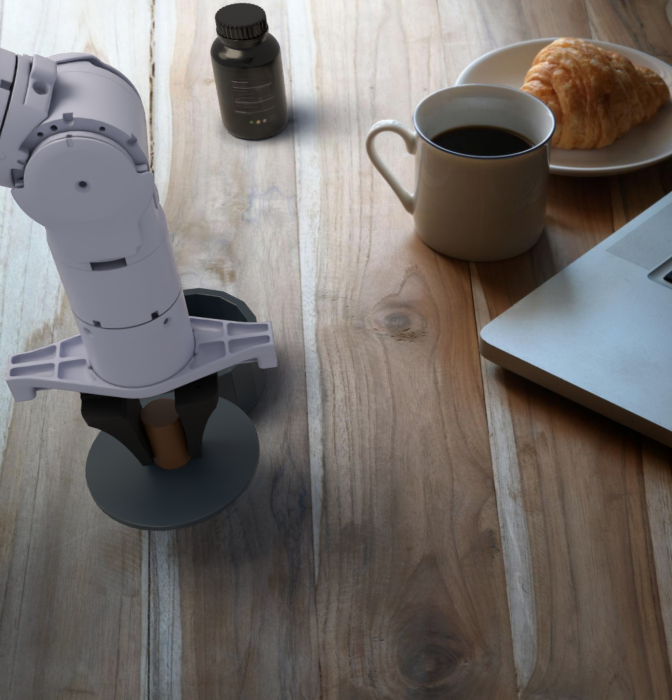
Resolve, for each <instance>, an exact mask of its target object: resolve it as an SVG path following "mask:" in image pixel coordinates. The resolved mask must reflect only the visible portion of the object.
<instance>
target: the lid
mask: <svg viewBox="0 0 672 700" xmlns="http://www.w3.org/2000/svg"><path fill="white" fill-rule="evenodd" d="M140 403H141V405H142V408H143V409H142V412H141V421H142V424H143V427H144V430H145V433H146V436H147V439H148V442H149V445H150V448H151V451H152V454H153V465H149V466H142V465H141V463H140V462H139V461H138V460H137V458H136V457H135V456H134V455H133V454H132V453H131V452H130V451H129V450H128V449H127V448H126V447H125V446H124V445H123V444H122V443H121V442H119V441H118V440H117V439H115V438H114V437H113V436H111V435H109V434H107V433H106V432H103V431H101V430H100V431H99V432H98V434H97V435H96V437H95V439H94V440H93V441H92V443H91V446H90V447H89V451H88V454H87V456H86V461H85V470H84V471H85V472H84V473H85V480H86V487H87V488H88V489H87V490H88V492H89V493H90V496H91V498H92V500H93V501H94V503H95V504H96V506H97V507H98V508H99V509H100V510H101V511H102V513H103V514H105V515H106V516H107V517H108V518H110V519H112V520H114V521H115V522H117V523H119V524H120V525H123V526H126V527H129V528H132V529H136V530H141V531H149V532H168V531H176V530H181V529H186V528H190V527H194V526H196V525H199V524H202V523H204V522H206V521H209V520H210V519H213V518H215V517H216V516H218V515H220V514H222V513H223V512H224V511H226V510H227V509H229V508H230V507H231V506H232V505H233V504H234V503H236V501H238V499H240V497H241V496H242V495H243V494H244V493H245V492H246V491H247V489H248V488H249V486H250V485H251V483H252V482H253V479H254V477H255V474H256V473H257V470H258V467H259V464H260V458H261V457H260V456H261V445H260V440H259V436H258V432H257V429H256V427H255V425H254V423H253V421H252V419H251V417H250V416H248V414H246V413H245V412H243V411H242V410H241V409H240V408H239V407H238V406H236V405H235V404H233V403H232V402H230V401H228V400H226V399H224V398H221V397H219V399H218V404H217V407H216V409H215V410H214V411H213V412H212V414H211V416H210V417H209V419H208V422H207V424H206V427H205V430H204V434H203V438H202V454H203V456H202V457H201V458H195V459H191V457H190V455H189V451H188V444H187V437H186V432H185V430H184V427H183V424H182V422H181V419H180V417H179V415H178V414H177V412H176V409H175V394H174V392H172V393H167V394H161V395H158V396H154V397H151V398H148V399H145V400H143V401H140Z"/></svg>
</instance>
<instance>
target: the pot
mask: <svg viewBox="0 0 672 700" xmlns="http://www.w3.org/2000/svg"><path fill="white" fill-rule="evenodd" d="M183 293H184V297H185V302H186V306H187V310H188V314H189V316H193V317H202V318H210V319H219V320H227V321H235V322H258V319H257V316H256V315H255V314H254V312H253V311H252V309H251V308H250V307H249V306H248V304H247V303H246V302H245V301H243V300H242V299H239V298H238V297H236V296H234V295H232V294H230V293H228V292H226V291H224V290H217V289H212V288H204V287H193V288H185V289H183ZM265 369H266V368H264V369H262V368H259V366H258V361H257V362H249V363H242V364H235V365H232V366H230V367H227V368H225V369H222V370H220V371H218V381H219V397H221V398H224V399H226V400H228V401H230V402H232V403H233V404H235V405H236V406H238V407H239V408H240V409H241V410H242V411H243V412H245V413H246V415H248V414H249V413H250V412H251V411H252V410H253V408H254V407H256V405H257V404H258V402H259V401H260V399H261V397H262V395H263V393H264V390H265V386H266V370H265ZM172 392H174V389H173V390H170V391H168V392H165V393H162V394H167V393H172ZM159 395H161V394H159ZM156 396H158V395H156ZM152 397H154V396H152ZM148 398H151V397H147V398H139V400H140V401H143V400H145V399H148Z"/></svg>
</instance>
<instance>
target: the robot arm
mask: <svg viewBox="0 0 672 700" xmlns="http://www.w3.org/2000/svg"><path fill="white" fill-rule="evenodd" d="M149 151H150V150H149V139H148V127H147V116H146V110H145V107H144V104H143V101H142V98H141V95H140V93H139V91H138V90H137V88H136V86H135V85H134V84H133V82H132V81H131V80H130V79H129V77H127V75H125V74H124V73H122V72H121V71H120V70H119V69H117V68H115V67H114V66H112V65H110V64H108V63H106V62H104V61H102V60H101V59H100V58H99V57H98V56H96V55H94V54H92V53H86V52H74V51H73V52H62V53H56V54H53V55H49V56H46V57H45V56H43V55H40V54H37V53H34V54H33V55H29V54H26V53H23V54H19V53H15V52H13V51H11V50H8V49H5V48H2V47H0V187H4V188H8V189H10V194H11V196H12V198H13V200H14V202H15V203H16V205H17V206H18V207H19V208H20V210H21V211H22V212H23V213H24V214H25V215H26V216H27V217H29V218H30V219H32V220H33V221H34V222H36V223H37V224H39V225H40V226H42V227H44V229H45V237H46V243H47V245H48V248H49V250H50V253H51V256H52V259H53V263H54V265H55V267H56V271H57V273H58V276H59V278H60V282H61V284H62V287H63V290H64V293H65V295H66V298H67V301H68V304H69V306H70V311H71V313H72V315H73V318H74V321H75V323H76V327H77V329H78V333H77V334H74V335H71V336H69V337H67V338H63V339H61V340H58V341H55V342H53V343H50V344H47V345H44V346H42V347H38V348H35V349H31V350H28V351H23V352H17V353H10V354H9V355H8V357H7V365H6V372H5V379H4V380H5V383H6V384H7V387H8V389H9V391H10V393H11V395H12V398H13V400H14V402H15V403H21V402H22V403H23V402H29V401H33V400H35V398H36V397H37V392H41V391H49V390H58V391H67V392H76V393H79V394H80V395H79V398H80V415H81V417H82V419H83V420H84V422H85V424H86V425H87V426H88V427H90V428H93V429H97V430H99V431H100V432H101V431H103V432H106V433H107V434H109V435H111V436H113V437H114V438H115V439H117V440H118V441H119V442H121V443H122V444H123V445H124V446H125V447H126V448H127V449H128V450H129V451H130V452H131V453H132V454H133V455H134V456H135V457H136V458H137V460H138V461H139V462H140V463H141V465H142V466H149V465H153V454H152V451H151V448H150V445H149V442H148V439H147V436H146V433H145V430H144V427H143V424H142V421H141V412H142V409H143V408H142V405H141V403H140V400H139V398H147V397H152V396H156V395H159V394H162V393H165V392H168V391H170V390H173V389H174V394H175V409H176V412H177V414H178V415H179V417H180V419H181V422H182V424H183V427H184V430H185V432H186V437H187V444H188V451H189V455H190V457H191V459H195V458H201V457H202V456H203V454H202V438H203V434H204V430H205V427H206V424H207V422H208V419H209V417H210V416H211V414H212V412H213V411H214V410H215V409H216V407H217V404H218V399H219V381H218V371H220V370H222V369H225V368H227V367H230V366H232V365H235V364H242V363H249V362H257V361H258V366H259V368H262V369H270V368H277V367H278V359H277V358H278V357H277V350H276V344H275V335H274V330H273V323H272V321H271V320H269V321H257V322H235V321H227V320H219V319H210V318H202V317H193V316H189V314H188V310H187V306H186V302H185V297H184V293H183V290H184V289H183V287H182V281H181V276H180V272H179V268H178V267H179V266H178V264H177V263H178V262H177V259H176V254H175V251H174V246H173V242H172V237H171V234H170V229H169V225H168V219H167V216H166V213H165V211H164V209H163V206H162V205H161V203H160V201H161V200H160V195H159V189H158V186H157V184H156V183H155V182H156V181H155V175H154V173H153V172H152V171H151V164H150V152H149Z"/></svg>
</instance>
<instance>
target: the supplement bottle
mask: <svg viewBox="0 0 672 700" xmlns="http://www.w3.org/2000/svg"><path fill="white" fill-rule="evenodd" d="M267 19H268V17H267V14H266V11H265V10H264V8H262V6H260V5H257V4H254V3H251V2H234V3H230V4H226V5H225V6H222V7H221V8H219V9H218V10H217V11H216V12H215V14H214V23H215V33H216V36H217V37H216V38H215V39H214V40H213V42H211V43H212V44H211V46H210V49H209V53H210V54H209V55H210V62H211V67H212V72H213V78H214V84H215V89H216V95H217V101H218V106H219V113H220V117H221V122H222V125H223V127H224V128H225V130H226V131H227V132H228V133H230V134H231V135H232V136H234V137H237V138H240V139H244V140H262V139H266V138H267V139H268V138H270V137H272V136H273V137H274V136H275V135H277V134H278V133H280V132H281V131H282V130H283V129H284V128H285V127H286V125H287V124H288V121H289V109H288V99H287V91H286V83H285V73H284V67H283V66H284V64H283V56H282V48H281V45H280V43H279V41H278V40H277V38H276V37H275V36H274V35H273V34H272V33H270V27H269V23H268V20H267Z"/></svg>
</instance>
